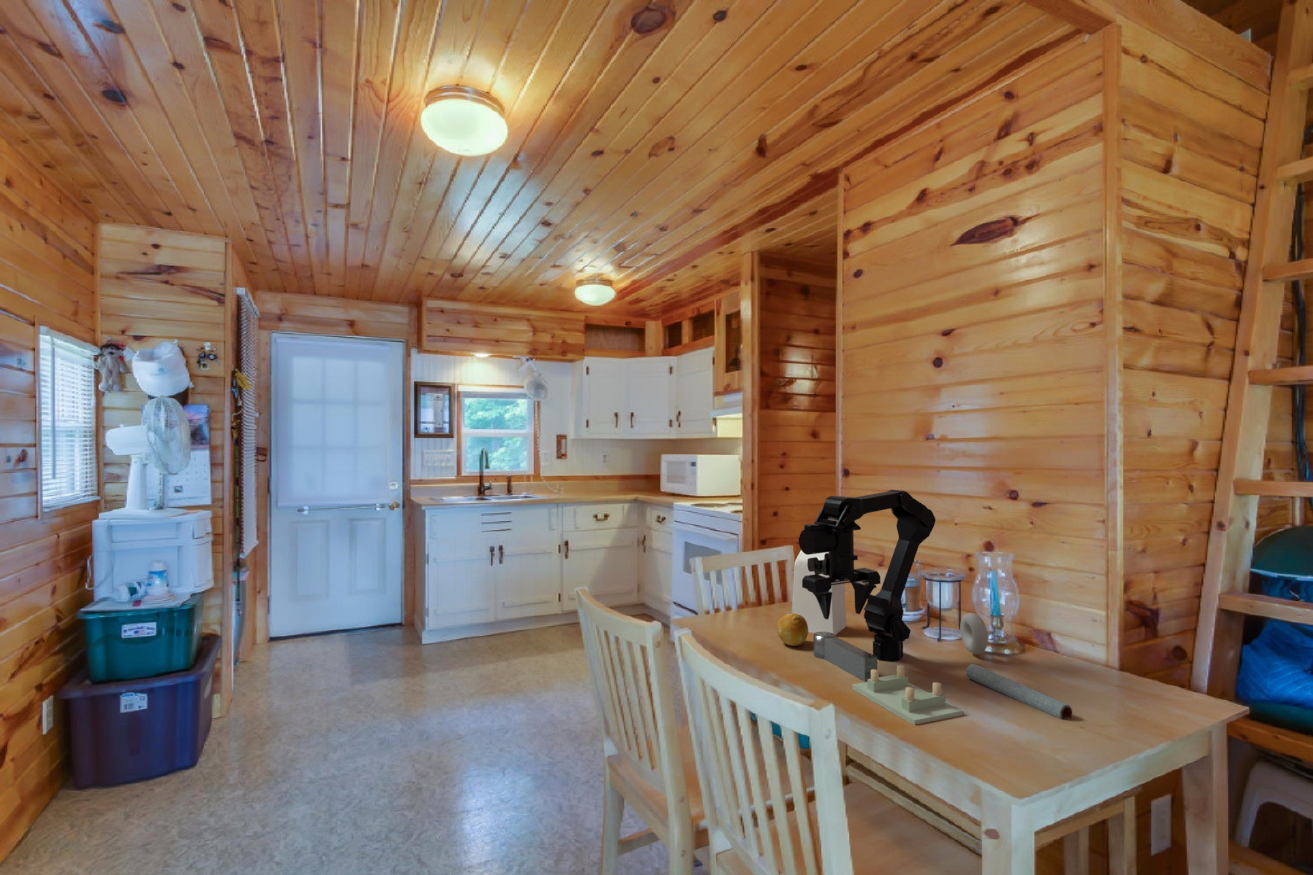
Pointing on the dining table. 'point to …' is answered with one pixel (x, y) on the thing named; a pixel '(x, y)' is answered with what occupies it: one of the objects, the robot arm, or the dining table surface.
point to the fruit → (792, 629)
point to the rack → (907, 698)
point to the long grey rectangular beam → (844, 655)
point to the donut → (974, 633)
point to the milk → (808, 604)
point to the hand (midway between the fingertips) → (842, 616)
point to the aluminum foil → (1019, 692)
